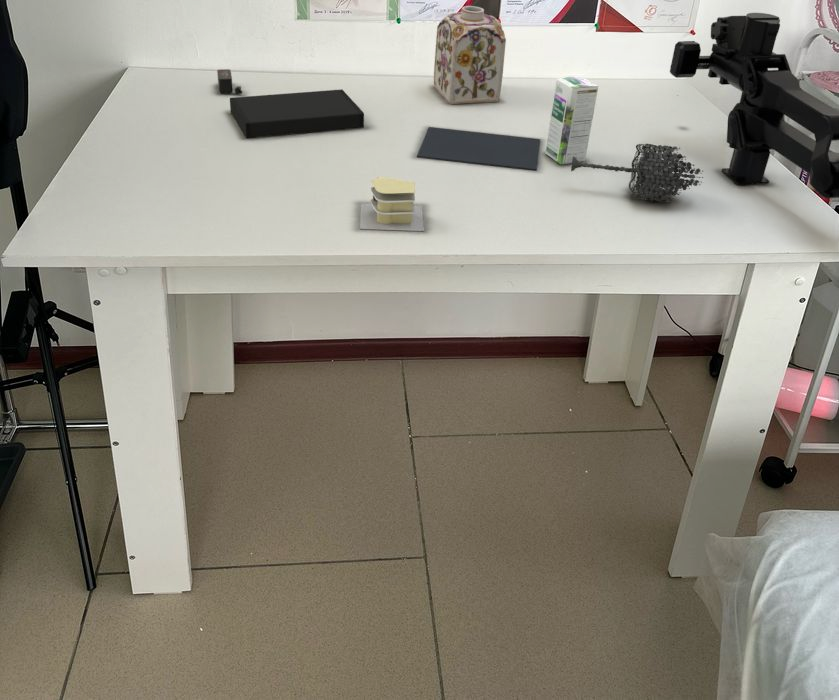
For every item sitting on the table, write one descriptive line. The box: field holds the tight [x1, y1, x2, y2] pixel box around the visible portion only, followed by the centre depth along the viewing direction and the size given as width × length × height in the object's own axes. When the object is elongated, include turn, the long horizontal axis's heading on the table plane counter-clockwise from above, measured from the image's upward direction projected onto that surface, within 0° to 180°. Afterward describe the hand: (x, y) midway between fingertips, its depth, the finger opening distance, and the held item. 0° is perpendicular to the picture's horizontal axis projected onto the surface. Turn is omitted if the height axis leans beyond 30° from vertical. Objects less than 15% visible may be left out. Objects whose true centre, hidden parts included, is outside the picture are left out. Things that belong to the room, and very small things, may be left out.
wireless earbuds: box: [216, 68, 243, 95], centre depth 189 cm, size 5×7×3 cm, turn 13°
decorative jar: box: [433, 5, 507, 105], centre depth 191 cm, size 12×12×18 cm
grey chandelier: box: [570, 143, 704, 203], centre depth 155 cm, size 9×22×9 cm, turn 82°
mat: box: [416, 126, 541, 172], centre depth 171 cm, size 22×15×1 cm
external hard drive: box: [229, 88, 365, 139], centre depth 177 cm, size 14×23×3 cm, turn 112°
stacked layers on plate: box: [359, 176, 425, 232], centre depth 144 cm, size 10×9×6 cm
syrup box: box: [544, 75, 599, 165], centre depth 166 cm, size 6×6×14 cm
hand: (697, 46), depth 177 cm, fingers open, 9 cm apart
